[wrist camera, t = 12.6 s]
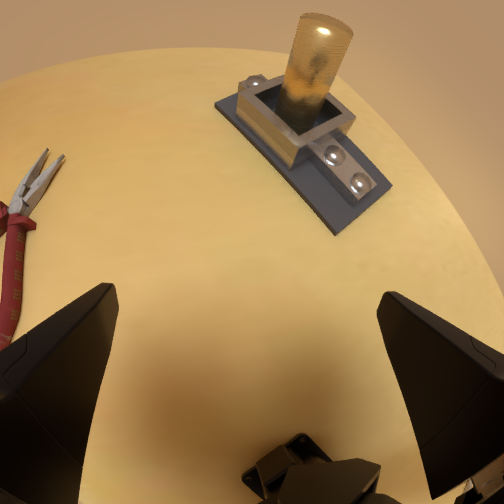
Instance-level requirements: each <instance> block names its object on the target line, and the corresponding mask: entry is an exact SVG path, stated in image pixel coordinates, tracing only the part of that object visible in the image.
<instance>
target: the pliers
mask: <svg viewBox="0 0 504 504" xmlns="http://www.w3.org/2000/svg"><path fill="white" fill-rule="evenodd" d="M48 151H49V149H48V148H47V149H46V150H45V151H44V152H43V153H42V155H41V156H40V157H39V158H38V160H37V161H36V162H35V163H34V165H33V166H32V167H31V169H30V170H29V171H28V173H27V174H26V175H25V177H24V178H23V180H22V181H21V183H20V184H19V186H18V188H17V190H16V191H15V194H14V196H13V198H12V201H11V203H10V205H9V207H8V206H7V205H5V204H4V203H3V202H1V201H0V237H1V236H2V235H3V234H4V233H5V232H6V231H7V234H6V242H5V251H4V261H3V275H2V293H1V302H0V351H1V350H2V349H4V348H6V347H7V346H8V345H10V342H11V339H12V336H13V333H14V330H15V327H16V325H17V322H18V319H19V314H20V308H21V298H22V273H23V257H24V246H25V237H26V231H31V230H36V223H35V222H34V221H33V220H31V219H30V218H28V216H29V214H30V213H31V211H32V210H33V209H34V207H35V206H36V204H37V203H38V201H39V200H40V198H41V197H42V195H43V193H44V191H45V189H46V188H47V186H48V184H49V182H50V180H51V179H52V177H53V175H54V173H55V172H56V170H57V168H58V167H59V165H60V163H61V162H62V160H63V158H64V157H65V156H64V154H63V155H61V156H60V157H59V158H58V159H57V160H56V161H55V162H54V163H52V164H51V165H50V166H49V167H48V168H47V169H46V170H45V171H44V172H43V173H42V174H41V175H39V173H40V171H41V168H42V166H43V163H44V160H45V158H46V155H47V153H48Z"/></svg>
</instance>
